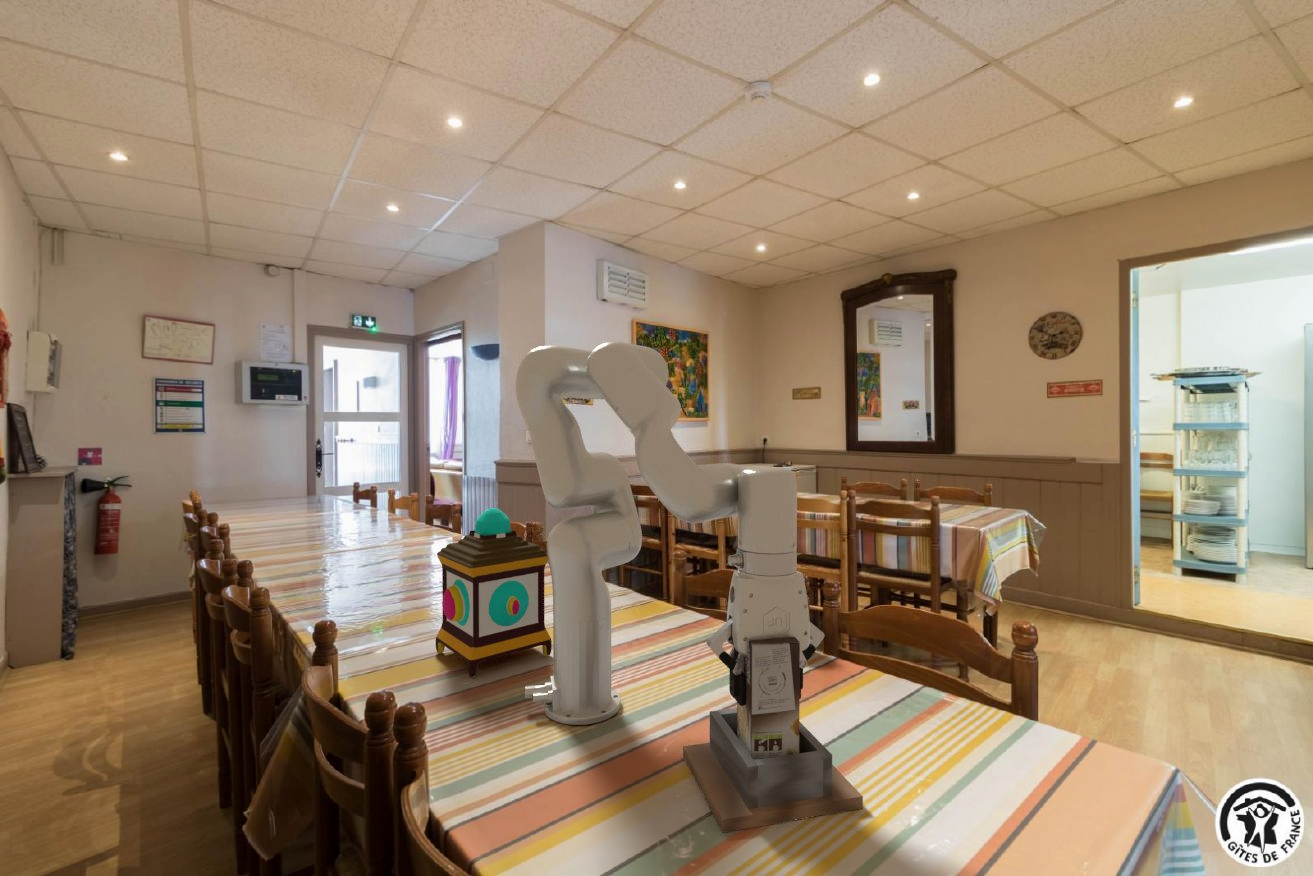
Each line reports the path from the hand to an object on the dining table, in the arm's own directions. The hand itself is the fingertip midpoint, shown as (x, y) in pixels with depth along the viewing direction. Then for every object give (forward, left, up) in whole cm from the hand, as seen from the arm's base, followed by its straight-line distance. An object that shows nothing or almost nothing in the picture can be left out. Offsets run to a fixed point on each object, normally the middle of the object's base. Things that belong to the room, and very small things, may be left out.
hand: (766, 696), depth 77 cm
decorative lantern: (-36, +53, -11) cm, 65 cm away
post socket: (0, 0, -11) cm, 11 cm away
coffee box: (0, 0, -8) cm, 8 cm away
